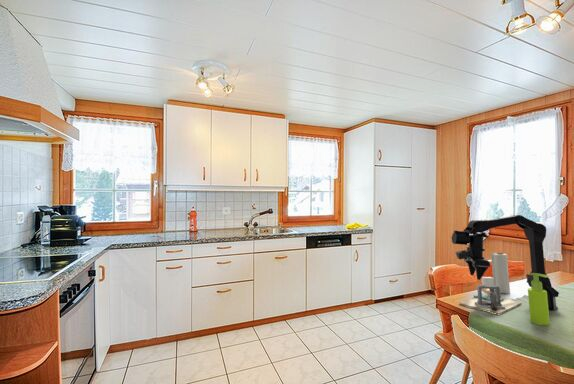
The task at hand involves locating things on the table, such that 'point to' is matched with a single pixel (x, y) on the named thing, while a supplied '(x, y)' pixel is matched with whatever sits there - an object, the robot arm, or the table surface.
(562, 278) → the table surface
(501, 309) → the beige rectangular panel
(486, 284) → the grey boxy piece
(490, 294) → the wooden crank handle
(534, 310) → the soap dispenser
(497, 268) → the paper towel roll
